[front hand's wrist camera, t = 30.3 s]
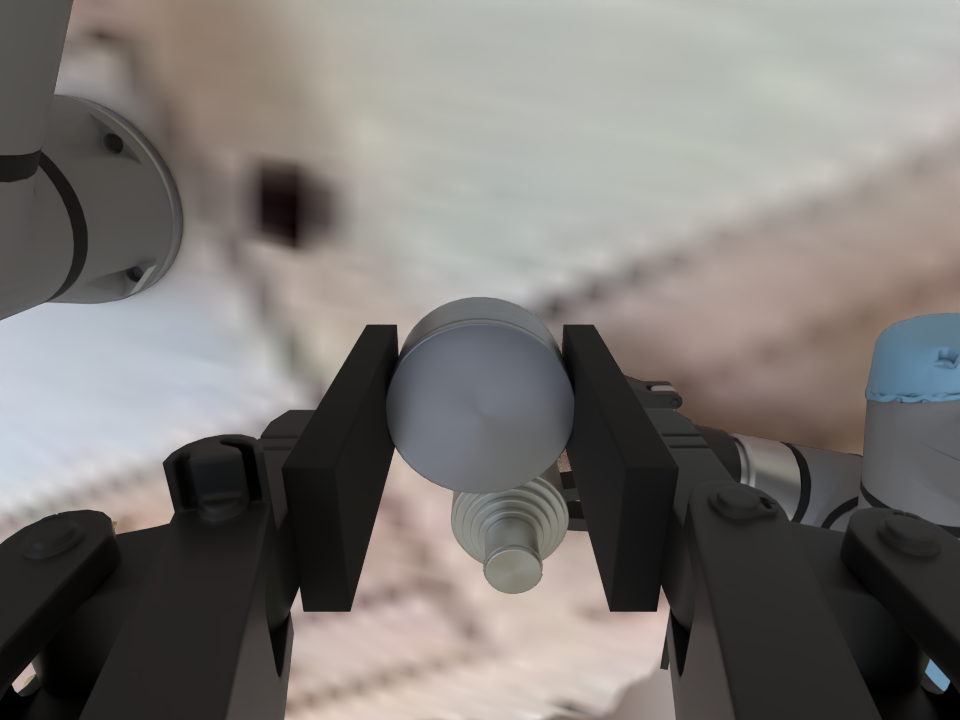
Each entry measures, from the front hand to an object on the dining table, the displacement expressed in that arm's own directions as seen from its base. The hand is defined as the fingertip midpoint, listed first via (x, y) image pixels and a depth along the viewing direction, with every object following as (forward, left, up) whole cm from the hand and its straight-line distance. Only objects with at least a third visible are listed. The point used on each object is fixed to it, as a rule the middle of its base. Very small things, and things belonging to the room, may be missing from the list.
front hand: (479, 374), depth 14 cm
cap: (0, 0, +2) cm, 2 cm away
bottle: (+3, -16, -32) cm, 36 cm away
